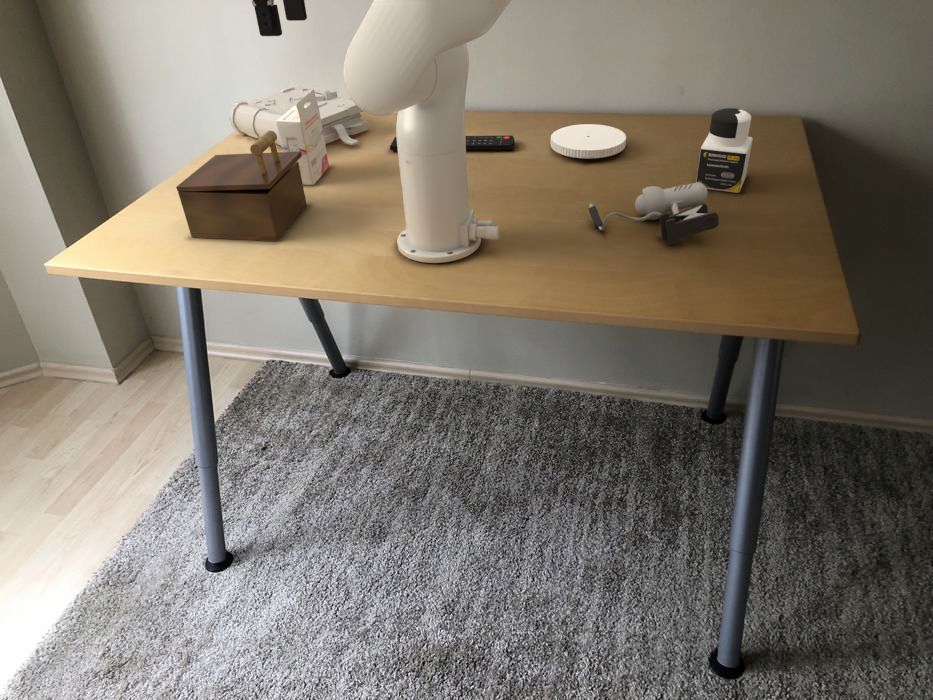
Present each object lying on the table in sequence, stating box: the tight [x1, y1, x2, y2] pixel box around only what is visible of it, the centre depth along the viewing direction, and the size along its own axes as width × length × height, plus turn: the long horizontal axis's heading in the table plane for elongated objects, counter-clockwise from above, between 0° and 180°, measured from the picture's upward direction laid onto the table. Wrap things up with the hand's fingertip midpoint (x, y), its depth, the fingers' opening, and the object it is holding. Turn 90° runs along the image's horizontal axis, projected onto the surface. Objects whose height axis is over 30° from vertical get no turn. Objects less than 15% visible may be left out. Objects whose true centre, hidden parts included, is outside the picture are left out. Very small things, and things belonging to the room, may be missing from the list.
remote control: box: [389, 135, 516, 151], centre depth 142 cm, size 5×24×1 cm, turn 83°
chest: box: [177, 162, 308, 242], centre depth 118 cm, size 15×13×8 cm
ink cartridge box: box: [276, 90, 330, 186], centre depth 130 cm, size 9×5×15 cm, turn 168°
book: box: [229, 84, 369, 146], centre depth 150 cm, size 19×28×8 cm
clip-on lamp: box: [588, 182, 720, 246], centre depth 109 cm, size 12×6×18 cm
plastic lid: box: [550, 123, 627, 160], centre depth 137 cm, size 14×14×2 cm
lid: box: [175, 131, 302, 193], centre depth 113 cm, size 15×13×6 cm
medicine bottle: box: [695, 107, 754, 194], centre depth 119 cm, size 7×7×12 cm
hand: (284, 27), depth 107 cm, fingers open, 9 cm apart
